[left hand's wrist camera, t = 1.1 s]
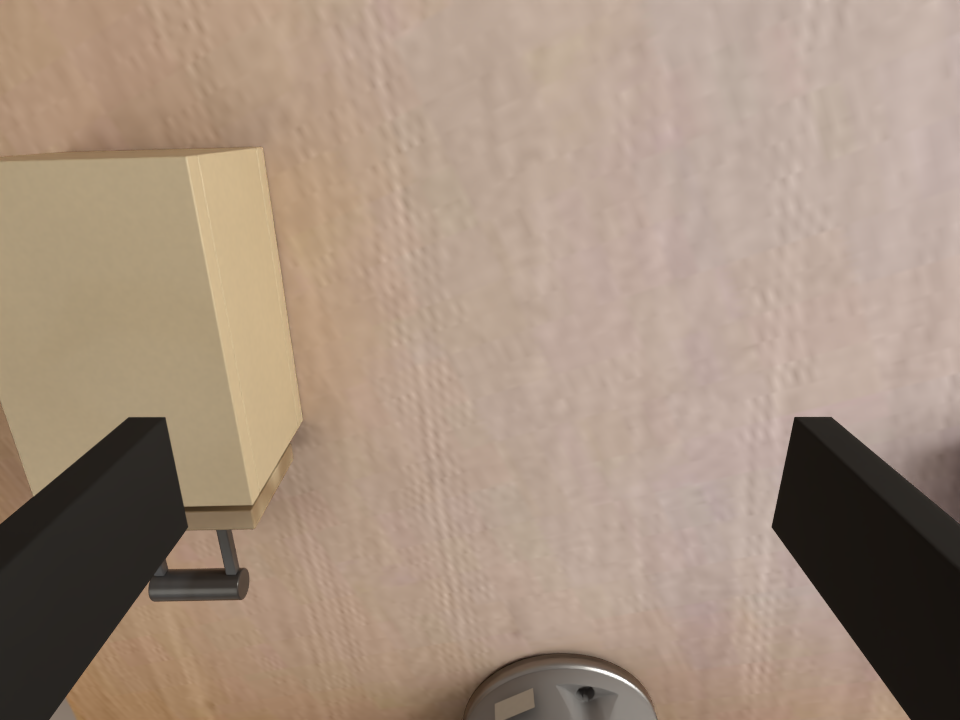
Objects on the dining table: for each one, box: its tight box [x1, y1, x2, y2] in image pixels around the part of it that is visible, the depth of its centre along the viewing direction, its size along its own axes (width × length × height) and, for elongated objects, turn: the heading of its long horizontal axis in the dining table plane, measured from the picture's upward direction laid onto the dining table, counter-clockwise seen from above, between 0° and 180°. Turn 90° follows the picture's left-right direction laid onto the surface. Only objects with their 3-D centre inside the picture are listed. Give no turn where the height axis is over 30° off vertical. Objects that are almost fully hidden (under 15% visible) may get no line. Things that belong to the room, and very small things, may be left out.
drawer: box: [149, 443, 293, 602], centre depth 34 cm, size 21×10×7 cm, turn 1°
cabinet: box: [0, 147, 303, 507], centre depth 32 cm, size 16×11×9 cm, turn 1°
